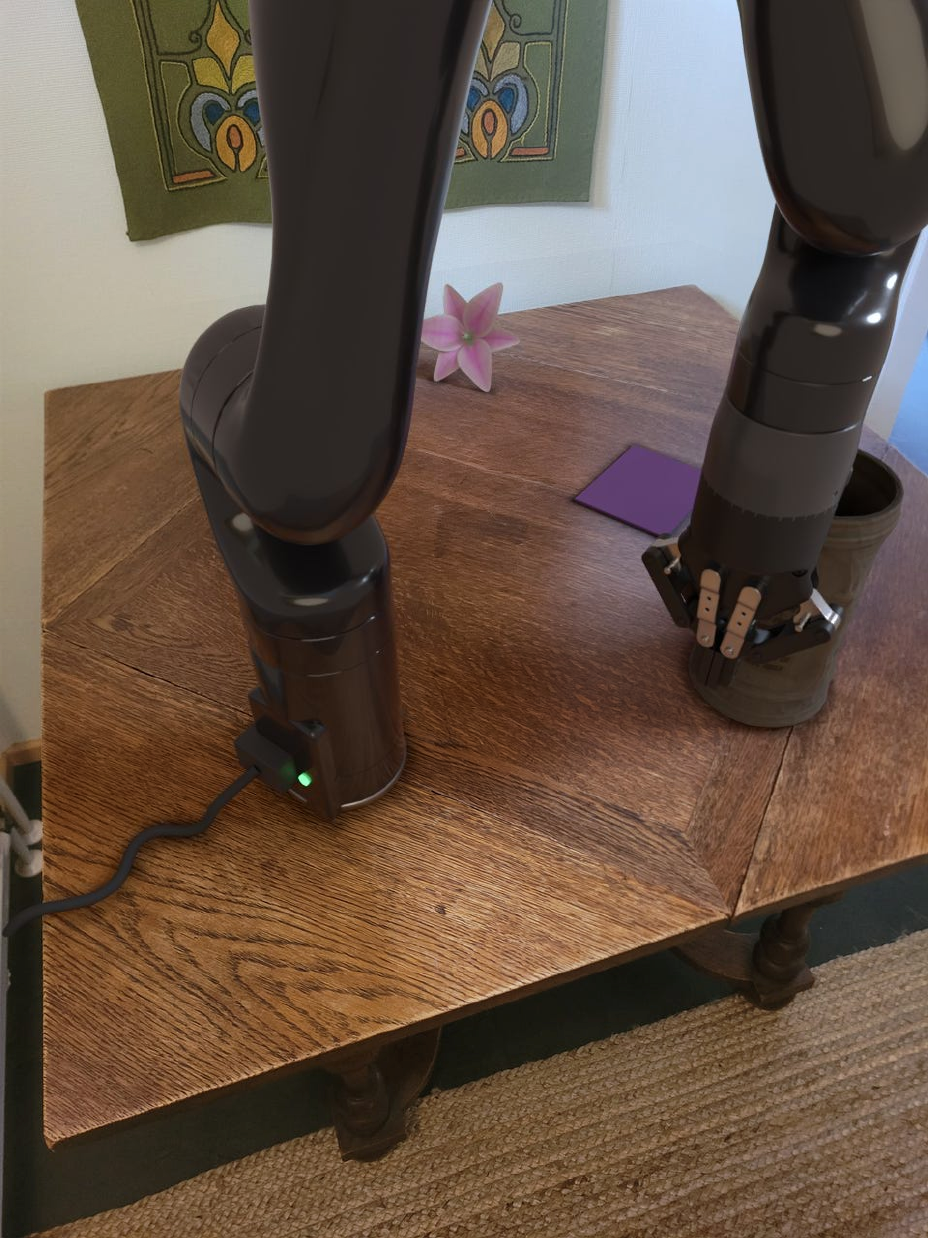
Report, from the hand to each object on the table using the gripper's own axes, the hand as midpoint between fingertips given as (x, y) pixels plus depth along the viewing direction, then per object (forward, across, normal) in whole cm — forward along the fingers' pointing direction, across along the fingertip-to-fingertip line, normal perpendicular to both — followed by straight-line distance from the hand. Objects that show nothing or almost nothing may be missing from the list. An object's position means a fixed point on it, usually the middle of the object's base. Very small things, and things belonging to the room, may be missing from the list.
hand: (711, 678), depth 60 cm
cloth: (+8, -18, +26) cm, 33 cm away
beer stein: (+8, 0, +11) cm, 14 cm away
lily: (+8, -47, +35) cm, 59 cm away
